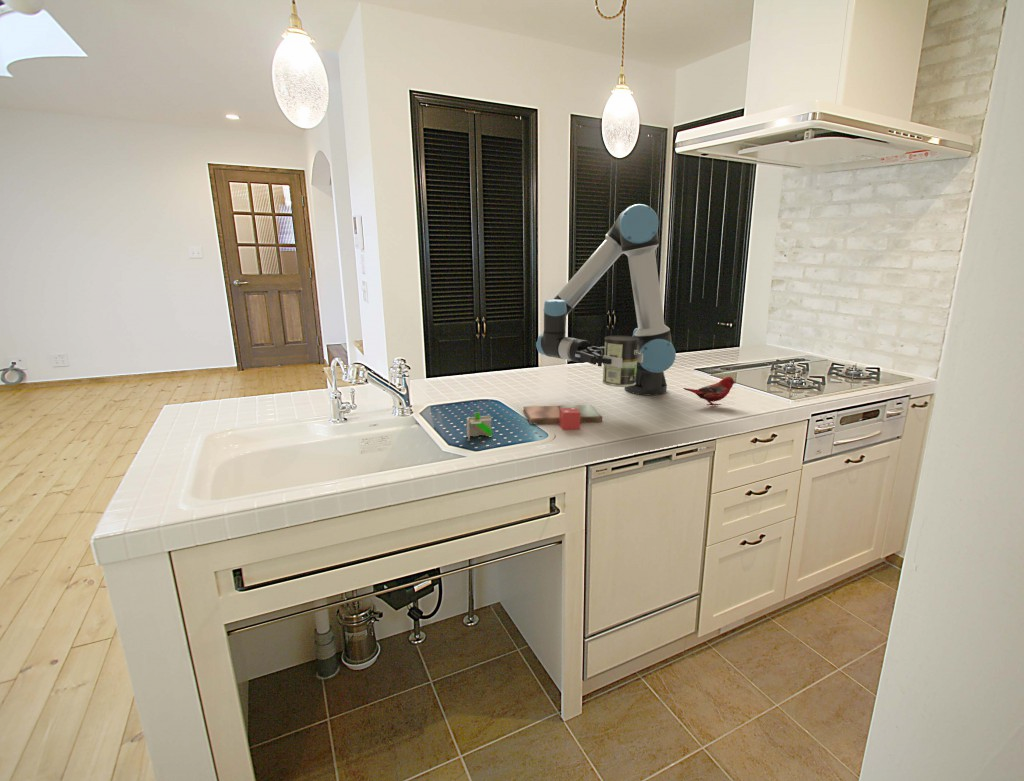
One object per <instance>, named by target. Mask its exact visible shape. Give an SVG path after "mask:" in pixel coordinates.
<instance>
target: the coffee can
mask: <svg viewBox="0 0 1024 781" xmlns="http://www.w3.org/2000/svg"><path fill="white" fill-rule="evenodd" d="M632 336H633V335H632ZM632 336H631V335H608V336H605V337H604V347H605V348H604V355H607V356H612V357H617V358H623V359H622V368H619V367H614V366H609V365H604V364H603V368H602V369H603V371H602V372H603V373H602V374H603V375H602V383H603V384H604V385H606V386H609V387H618V388H625V387H630V386H634V385H636V371H637V357H638V343H639V338H637V337H632Z"/></svg>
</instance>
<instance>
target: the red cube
mask: <svg viewBox="0 0 1024 781" xmlns="http://www.w3.org/2000/svg"><path fill="white" fill-rule="evenodd" d="M558 425H559V426H560V428H561V430H562V431H564V430H566V431H568V430H580V428H581V423H580V411H579V410H578V409H577V408H560V410H559V423H558Z"/></svg>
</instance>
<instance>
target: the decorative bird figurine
mask: <svg viewBox="0 0 1024 781" xmlns="http://www.w3.org/2000/svg"><path fill="white" fill-rule="evenodd" d="M735 384H737V383H736V381H735V380H734V379H733V377H731V376H727V377H724V378H722V379H721V380H720V381H717V382H716V383H713V384H709V385H705V386H702V387H701V388H698V389H693V388H689V387H688V388H686V387H683V388H682V389H684V390H685V391H688V392H691V393H694V394H695V395H696V396H697V397H698V398H699V399H702V400H704V401H707V403H706V406H708V405H712V406H713V405H717V406H722V404H721V403H719V404H718V403H715V402H718V401H721V400H722V399H725V398H726V397H727V396H728V394H729V393H730V391H731V389H732V388H733V386H734V385H735ZM713 402H714V403H713Z"/></svg>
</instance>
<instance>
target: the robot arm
mask: <svg viewBox="0 0 1024 781" xmlns="http://www.w3.org/2000/svg"><path fill="white" fill-rule="evenodd" d="M659 224H660V222H659V218H658V214H657V213H656V211H655V210H654V209H653V208H652V207H651V206H649V205H646V204H642V203H637V204H636V203H635V204H633V205H629V206H628V207H627V208H625V209H624V210H623V211H621V213H619V215H618V217H617V218H616V220H615V222H614V223H613V225H612V226H611V227H610V229H609V230H608V231H607V232H606V234H605V239H604V241H602V243H601V244H600V245H599V246H598V247H597V248H596V250H594V252H593V253H592V254H591V256H589V258H588V259H587V260H586V261H585V262H584V263H583V265H582V266H581V267H580V268H579V269H578V270H577V272H576V273H575V274H574V275H573V276H572V277H571V278H570V280H568V282H567V283H565V285H564V286H563V288H562V289H561V290H560V291H559V292H558V294H556V296H554V298H552V299H546V300H544V304H543V305H544V306H543V333H541V334H539V336H538V337H537V341H536V342H535V345H536V349H537V352H538V353H539V354H541V355H543V356H546V357H549V358H556V359H561V360H566V361H567V362H571V361H572V362H576V363H579V364H583V363H588V364H591V365H597V366H598V367H602V365H603V366H604V365H609V366H614V367H619V368H622V359H623V358H617V357H612V356H607V355H604V348H605V346H603V345H602V346H600V347H599V346H597V345H596V346H595V345H594V346H592V345H591V343H590V342H589V340H586V339H581V338H580V339H579V338H575V337H569V336H566V331H567V330H566V327H567V316H568V315H569V314H570V313H571V312H572V310H573V309H574V308H575V307H576V306H577V305H578V303H579V302H580V301H581V300H582V299H583V298H584V297H585V296H586V294H587V293H588V292H589V291H590V290H591V289H592V288H593V287H594V286H595V284H596V283H597V282H599V280H600V279H601V278H602V277H603V275H605V273H606V272H607V271H608V269H610V268H611V266H612V265H613V264H615V262H616V261H617V260H618V259H619V258H620V257H621V255H623V254H624V255H626V256H627V260H628V267H629V273H630V281H631V288H632V296H633V301H634V308H635V309H634V310H635V315H636V323H637V327H636V328H634V330H633V332H632V337H637V338H639V343H638V357H637V371H636V385H634V386H630V387H624V390H625V389H626V391H627V392H629V391H630V393H632V392H634V393H633V394H636V393H639V394H638V395H643V394H650V395H649V396H653V395H654V394H658V395H663V394H665V393H667V391H668V389H667V388H668V384H667V381H666V376H665V371H667V370H669V369H670V368H671V367H672V365H673V364H674V363H675V360H676V358H677V357H676V356H677V355H676V354H677V353H676V349H675V346H674V344H673V341H672V334H671V329H670V327H669V326H667V325H666V324H665V319H664V309H663V304H662V295H661V288H660V280H659V272H658V265H657V258H656V250H657V248H658V247H659V245H660V243H659V235H658V230H659ZM662 393H663V394H662ZM654 396H655V395H654Z"/></svg>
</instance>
